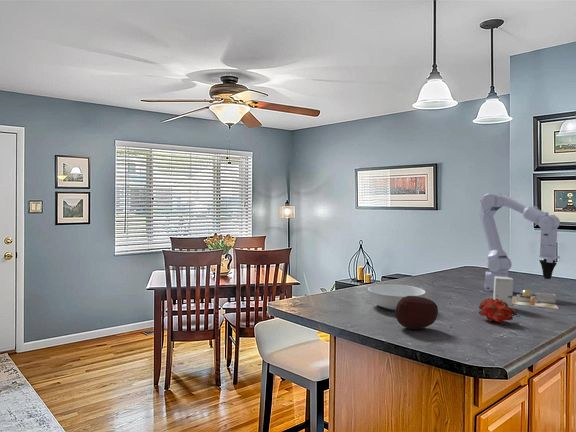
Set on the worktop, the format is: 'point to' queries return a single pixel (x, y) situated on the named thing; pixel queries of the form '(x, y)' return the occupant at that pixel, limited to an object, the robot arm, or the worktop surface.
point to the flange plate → (539, 298)
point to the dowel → (532, 300)
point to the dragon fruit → (496, 310)
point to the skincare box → (503, 289)
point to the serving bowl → (392, 294)
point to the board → (538, 304)
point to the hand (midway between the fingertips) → (547, 278)
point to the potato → (416, 312)
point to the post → (526, 294)
